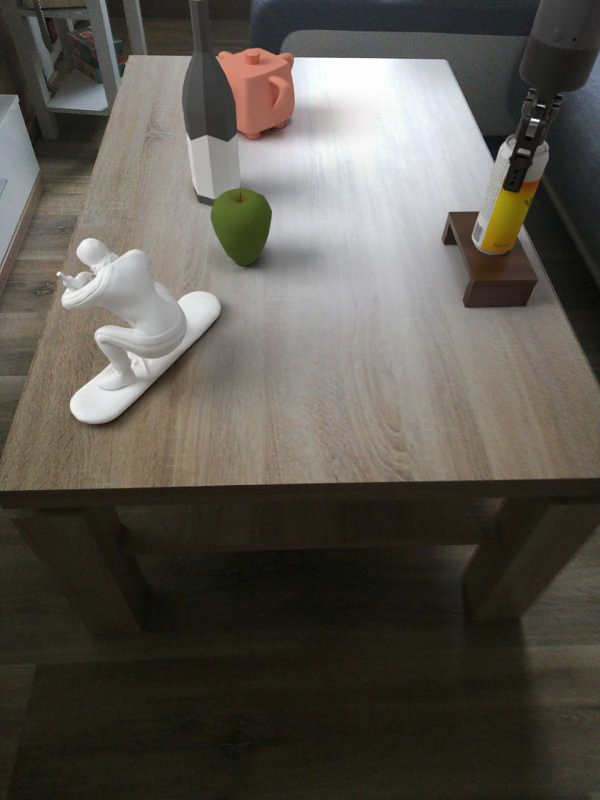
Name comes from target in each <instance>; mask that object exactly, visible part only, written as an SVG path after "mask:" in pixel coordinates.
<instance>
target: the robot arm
mask: <svg viewBox="0 0 600 800" xmlns="http://www.w3.org/2000/svg"><path fill="white" fill-rule="evenodd" d="M534 17H535V18H534V19H533V20H534V21H533V24H532V27H531V30H530V34H529V36H528V39H527V42H526V46H525V49H524V52H523V56H522V58H521V62H520V65H519V69H518V72H519V75H520V78H521V79H522V80H523V82H525V83H526V84H528V85H530V86H532V87H533V88H529V91H528V93H527V96H526V97H525V99H524V101H523V104H522V107H521V111H520V112H521V117H520V120H519V122H518V125H517V128H516V131H515V132H514V134H515V137H514V138H515V140H516V143H515V146H514V149H513V152H512V154H511V156H510V158H509V160H510V161H509V164H510V166H509V169H508V172H507V175H506V178H505V181H504V184H503V189H504V190H506V191H510V192H514V193H518V192H519V191H520V189H521V187H522V184H523V181H524V179H525V176H526V173H527V171H528V169H529V168H530V166H532V163H533V161H534V159H533V157H534V154H535V152H536V149H537V147H538V146H541V145H542V144H543V143H544V141H546V137H547V135H548V132H549V130H550V127H551V124H552V122H553V121H555V119H556V118H557V115H558V112H559V110H560V107H561V104H562V101H563V99H564V96H565V95H563V94H560V93H564V92H566V93H570V92H575V91H578V90H580V89H582V88H583V87H584V86H586V84H588V83H587V82H588V81H589V78H590V75H591V73H592V71H593V69H594V66H595V64H596V62H597V59H598V56H599V54H600V0H540V2H539V5H538V8H537V12H536V14H535V16H534ZM520 148H521V149H525V150H529V151H530V152H531V153H530V155H527V154H523V153H519V152H518V150H519V149H520Z"/></svg>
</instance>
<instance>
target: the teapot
mask: <svg viewBox="0 0 600 800" xmlns="http://www.w3.org/2000/svg"><path fill="white" fill-rule="evenodd" d="M217 60H218V62H219V63H220V65H221V67H222V69H223V71H224V72H225V74H226V76H227V79H228V81H229V84H230V86H231V89H232V92H233V96H234V100H235V103H236V119H237V131H239V132H241V133H243V134H245V135H246V137H247V138H248V139H249V140H258V139H259V138H260V137H261V132H263V131H266V130H269V129H271V128H274V129H281V128H283V127H285V123H284V122H285V121H287V120H288V119H290V118H291V117H292V116H293V113H294V110H295V105H296V104H295V103H296V97H295V96H296V95H295V94H296V93H295V85H294V80H293V79H294V78H293V74H292V70H293V67H294V63H295V57H294V54H292V53H291V52H283V53H280V54H278V55H276V54H275V53H272V52H270V51H267V50H265V49H263V48H260V47H255V48H254V47H253V48H247V49H245V50H243V51H239V52H237V53H231V52H229V51H226V50H225V51H220V52H219V53H218V56H217Z"/></svg>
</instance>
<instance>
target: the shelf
mask: <svg viewBox="0 0 600 800" xmlns="http://www.w3.org/2000/svg"><path fill="white" fill-rule="evenodd" d="M479 211H480V210H477V211H475V210H474V211H471V210H470V211H468V210H467V211H464V210H463V211H448V213H447V218H446V221H445V225H444V228H443V231H442V236H441V241H442V245H445V246H446V245H451V246H452V245H456V246H457V247H458V250H459V253H460V255H461V258H462V261H463V264H464V266H465V269H466V272H467V275H468V277H469V281H468V284H467V286H466V288H465V292H464V295H463V298H462V302H463V305H464V308H505V307H507V308H508V307H509V308H510V307H527V305H528V303H529V301H530V298H531V297H532V294H533V293H534V290H535V288H536V286H537V284H538V281H539V278H538V276H537V273H536V271H535V269H534V267H533V265H532V263H531V261H530V259H529V257H528V255H527V253H526V250H525V248H524V246H523V244H522V241H520V240H521V239H520V238H519V236H518V237H517V239H516V242H515V244H514V247H513V248H512V249H511V250H509V251H507V252H506V253H504V254H501V255H490V254H486V253H484V252H482V251H480V250H479V249H477V247H476V246H475V244H474V242H473V240H472V233H473V230H474V227H475V224H476V221H477V218H478V215H479Z"/></svg>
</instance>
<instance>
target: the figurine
mask: <svg viewBox="0 0 600 800" xmlns="http://www.w3.org/2000/svg"><path fill="white" fill-rule="evenodd" d="M76 256H77V258H78V259H79V260H80V261H81V262H82V264H84V265H87V267H89V269H90V270H91V271H81V272H79V273H78V274H77V275H76V276H75V277H73V276H72V275H65V274H64V273H62V272H61V271H57V272H56V276H57V277H58V278H59V279H61V280H62V285H63V286H64V287H66V290H65V291H64V293H63V294H62V296H61V305H62V308H64V309H65V310H67V311H74V310H84V309H88V308H92V307H96V306H98V307H101V308H102V309H105V310H107V311H109V312H111V313H113V314H115V315H116V316H118V317H119V318H121V319H122V320H124V321H126V322H127V323H128V325H130V326H131V327H123V326H118V325H112V324H107V325H103V326H101V327H99V328H98V329H96V331H95V333H94V340H95V343H96V344H97V346H98V347H99V349H100V350H101V352H102V353H103V354H104V355H105V356H106V357H107V359H108V360H109V362H110V363H109V364H108V365H107V366H106V367H105V368H104V369H103V370H102V371H101V372H99V373H98V374H97V375H95V376H94V377H93V378H92V379H91V380H89V381H88V382H87V383H86V384H84V385H83V386H82V387H80V388H79V389H78V390H77V391H76V392H75V393H74V394H73V395H72V397H71V399H70V401H69V409H70V412H71V413H72V415H73V417H75V418H76V420H77V421H79V422H81V423H85V424H89V425H99V424H105V423H108V422H111V421H113V420H115V419H117V418H118V417H119V416H120V415H122V413H123V412H124V411H126V410H127V409H128V408H129V407H130V406H131V405H132V404H133V403H135V402H136V401H137V400H138V399H139V398H140V397H141V396H142V395H143V394H144V393H145V392H146V391H147V389H149V387H151V385H153V384H154V382H155V381H157V380H158V378H160V377H161V376H162V375H163V374H164V373H165V372H166V371H167V370H168V369H169V368H170V367H171V366H172V365H173V364H174V363H175V362H176V361H177V360H178V359H179V358H180V357H181V356H182V355H183V354H184V353H185V352H186V351H187V350H188V349H189V348H190V347H191V346H192V345H193V344H195V342H196V341H197V340H198V339H199V338H200V337H202V335H203V334H204V333H205V332H206V331H207V330H208V329H209V328H210V326H212V325H213V323H214V322H215V321H216V320H217V319H218V317H220V314H221V310H222V308H221V307H222V306H221V302H220V300H219V299H218V297H217V296H215V294H213V293H211V292H208V291H204V290H196V291H191V292H188V293H187V294H185V295H183V296H181V297H180V299H179V300H178V301H177V300H176V298H175V297H174V296H173V294H172V293H171V292H170V290H169V289H168V288H167V287H166V285H165V284H164V283H163V282H160V281H154V272H153V267H152V259H151V257H150V256H149V254H147V253H146V252H145V251H143V250H141V249H138V248H133V249H130V250H128V251H126V252H125V253H124V254H122V255H121V256H119V255H118V254H117V253H115V252H113V251H109V250H108V248H107V246H106V245H105V243H103V241H101V240H99V239H97V238H94V237H89V238H85V239H83V240H82V241H81V242H80V243H79V245H78V246H77V248H76ZM93 275H94V276H95V277H93Z"/></svg>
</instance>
